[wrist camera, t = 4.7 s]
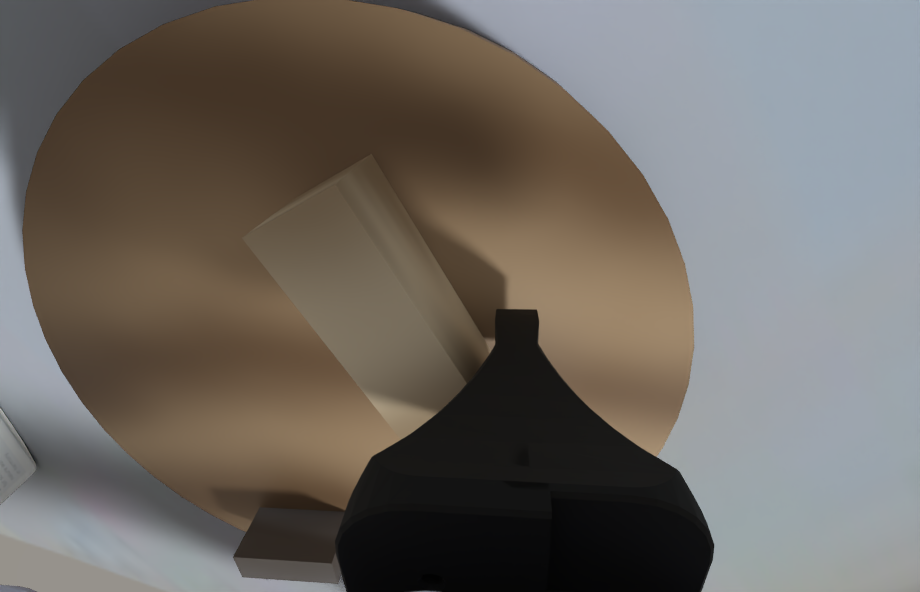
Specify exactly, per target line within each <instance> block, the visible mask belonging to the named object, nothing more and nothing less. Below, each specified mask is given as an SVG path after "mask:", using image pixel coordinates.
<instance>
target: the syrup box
mask: <svg viewBox="0 0 920 592" xmlns="http://www.w3.org/2000/svg"><path fill="white" fill-rule="evenodd" d="M36 468H37V466H36V464H35V462H34V460H33V458H32V456H31V455H30V453H29V451H28V449H27V447H26V446H25V444H24V442H23V441H22V439H21V438H20V436H19V435H18V433H17V432H16V430H15V428H14V427H13V425H12V424H11V422H10V421H9V420H8V418H7V417H6V415H5V414H4V412H3V411H2V410H1V408H0V505H1V504H2V503H3V502H4V501H5V500H6V499H7V498H8V497H9V496H10V495H11V494H12V493H13V492H15V491H16V490H17V489H18V488H19V487H20V486H21V485H22V484H23V483H24V482H25V481H26V480H27V479H28V478H29V477H30V476H31V475H32V474H33V473H34V472H35V471H36Z"/></svg>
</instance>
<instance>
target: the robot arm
mask: <svg viewBox="0 0 920 592" xmlns="http://www.w3.org/2000/svg"><path fill="white" fill-rule="evenodd" d="M538 339H539V317H538V312H537V309H496V316H495V346H494V347H493V349H492V351H491V352H490V354H489V355H488V357H487V358H486V360H485V361H484V362H483V364H482V365H481V367H480V368H479V370H478V371H477V372H476V373H475V375H474V376H473V377H472V378H471V380H470V381H469V382H468V383H467V384H466V385H465V386H464V388H463V389H462V390H461V391H460V392H459V393H458V394H457V395H456V396H455V397H454V398H453V399H452V400H451V401H450V402H449V403H448V404H447V405H446V406H445V407H444V408H443V409H441V410H440V411H439V412H438V413H437V414H436V415H434V416H433V417H432V418H431V419H429V420H428V421H427V422H425V423H424V424H423V425H421V426H420V427H419V428H418V429H416V430H415V431H414V432H412V433H411V434H409V435H408V436H406V437H405V438H403V439H401V440H400V441H398V442H396V443H394V444H393V445H391V446H389V447H388V448H386V449H384V450H383V451H381V452H379V453H377V454H375V455H373V456H372V457H371V459H370V461H369V462H368V464H367V466H366V467H365V469H364V471H363V473H362V475H361V476H360V478H359V480H358V482H357V484H356V486H355V488H354V490H353V492H352V494H351V497H350V499H349V501H348V504H347V507H346V510H345V513H344V516H343V519H342V521H341V524H340V527H339V530H338V533H337V536H336V539H335V549H336V556H337V560H338V563H339V567H340V570H341V574H342V577H343V581H344V584H345V588H346V591H347V592H701V591H702V588H703V585H704V583H705V580H706V577H707V574H708V571H709V569H710V566H711V563H712V560H713V553H714V543H713V540H712V537H711V534H710V531H709V528H708V525H707V522H706V520H705V518H704V515H703V513H702V511H701V509H700V507H699V505H698V503H697V502H696V500H695V498H694V496H693V494H692V493H691V491H690V489H689V487H688V486H687V484H686V482H685V480H684V479H683V477H682V475H681V474H680V472H679V471H678V470H677V469H675V468H674V467H672V466H670V465H669V464H667V463H665V462H664V461H662V460H660V459H659V458H657V457H656V456H654V455H652V454H651V453H649V452H647V451H646V450H644V449H642V448H641V447H639V446H638V445H636V444H635V443H633V442H632V441H631V440H629V439H628V438H626V437H625V436H624V435H622V434H621V433H619V432H618V431H617V430H615V429H614V428H613V427H612V426H610V425H609V424H608V423H607V422H606V421H604V420H603V419H602V418H601V417H600V416H599V415H597V414H596V413H595V412H594V411H593V410H592V409H590V408H589V407H588V406H587V405H586V404H585V403H584V402H583V401H582V400H581V399H580V398H579V397H578V395H577V394H576V393H575V392H574V391H573V390H572V389H571V388H570V387H569V386H568V384H567V383H566V382H565V381H564V380H563V378H562V377H561V376H560V375H559V373H558V372H557V371H556V369H555V368H554V367H553V365H552V364H551V363H550V361H549V360H548V358H547V357H546V355H545V354H544V352H543V351H542V349H541V347H540V346H539V344H538ZM0 592H36V591H34V590H32V589H29V588H25V587H20V586H9V585H0Z"/></svg>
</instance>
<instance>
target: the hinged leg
mask: <svg viewBox="0 0 920 592" xmlns="http://www.w3.org/2000/svg"><path fill="white" fill-rule="evenodd" d="M242 239H243V240H244V242H245V243H246V244H247V245H248V247H249V248H250V249H251V250H252V252H253V253H254V254H255V256H256V257H257V258H258V259H259V261H260V262H261V263H262V264H263V266H264V267H265V268H266V269H267V271H268V272H269V273H270V275H271V276H272V277H273V278H274V280H275V281H276V282H277V283H278V285H279V286H280V287H281V289H282V290H283V291H284V292H285V294H286V295H287V296H288V297H289V299H290V300H291V301H292V302H293V304H294V305H295V306H296V308H297V309H298V310H299V311H300V313H301V314H302V315H303V316H304V318H305V319H306V320H307V322H308V323H309V324H310V325H311V327H312V328H313V329H314V330H315V332H316V333H317V334H318V335H319V337H320V338H321V339H322V341H323V342H324V343H325V344H326V346H327V347H328V348H329V349H330V351H331V352H332V353H333V354H334V356H335V357H336V358H337V360H338V361H339V362H340V363H341V365H342V366H343V367H344V368H345V370H346V371H347V372H348V374H349V375H350V376H351V377H352V379H353V380H354V381H355V382H356V384H357V385H358V386H359V387H360V389H361V390H362V391H363V393H364V394H365V395H366V396H367V398H368V399H369V400H370V401H371V403H372V404H373V405H374V407H375V408H376V409H377V410H378V412H379V413H380V414H381V415H382V417H383V418H384V419H385V420H386V422H387V423H388V424H389V426H390V427H391V428H392V429H393V431H394V432H395V433H396V434H397V436H398V437H399V438H400V439H403V438H405V437H406V436H408V435H409V434H411V433H412V432H414V431H415V430H416V429H418V428H419V427H420V426H421V425H423V424H424V423H425V422H427V421H428V420H429V419H431V418H432V417H433V416H434V415H436V414H437V413H438V412H439V411H440V410H441V409H443V408H444V407H445V406H446V405H447V404H448V403H449V402H450V401H451V400H452V399H453V398H454V397H455V396H456V395H457V394H458V393H459V392H460V391H461V390H462V389H463V388H464V386H465V385H466V384H467V383H468V382H469V381H470V380H471V378H472V377H473V376H474V375H475V373H476V372H477V371H478V370H479V368H480V367H481V365H482V364H483V362H484V361H485V360H486V358H487V357H488V355H489V354H490V352H491V349H490V348H489V346H488V344H487V343H486V341H485V339H484V338H483V336H482V334H481V333H480V331H479V330H478V328H477V326H476V325H475V323H474V321H473V320H472V318H471V316H470V315H469V313H468V311H467V310H466V308H465V307H464V305H463V303H462V302H461V300H460V298H459V297H458V295H457V293H456V292H455V290H454V288H453V287H452V285H451V284H450V282H449V280H448V279H447V277H446V275H445V274H444V272H443V270H442V269H441V267H440V266H439V264H438V262H437V261H436V259H435V257H434V256H433V254H432V252H431V251H430V249H429V247H428V246H427V244H426V243H425V241H424V239H423V238H422V236H421V234H420V233H419V231H418V229H417V228H416V226H415V224H414V223H413V221H412V220H411V218H410V216H409V215H408V213H407V211H406V210H405V208H404V206H403V205H402V203H401V201H400V200H399V198H398V197H397V195H396V193H395V192H394V190H393V188H392V187H391V185H390V183H389V182H388V180H387V178H386V177H385V175H384V174H383V172H382V170H381V169H380V167H379V165H378V164H377V162H376V160H375V159H374V157H373V155H372V154H370V155H369V156H367V157H365V158H364V159H362V160H360V161H358V162H357V163H355V164H353V165H351V166H350V167H348V168H346V169H345V170H343V171H341V172H339V173H338V174H336V175H334V176H333V177H331V178H329V179H327V180H326V181H324V182H322V183H320V184H319V185H317V186H315V187H314V188H312V189H310V190H308V191H307V192H305V193H303V194H301V195H300V196H298V197H296V198H295V199H293V200H292V201H290V202H289V203H288V204H286V205H285V206H284V207H282V208H281V209H280V210H278V211H277V212H276V213H274V214H273V215H272V216H270V217H269V218H268V219H266V220H265V221H264V222H262V223H261V224H260V225H258V226H257V227H256V228H254V229H253V230H252V231H250V232H249V233H248V234H246V235H245V236H244V237H242Z"/></svg>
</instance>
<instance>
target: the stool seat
mask: <svg viewBox="0 0 920 592" xmlns="http://www.w3.org/2000/svg"><path fill="white" fill-rule="evenodd" d="M370 154H372V155H373V157H374V159H375V160H376V162H377V164H378V165H379V167H380V169H381V170H382V172H383V174H384V175H385V177H386V178H387V180H388V182H389V183H390V185H391V187H392V188H393V190H394V192H395V193H396V195H397V197H398V198H399V200H400V201H401V203H402V205H403V206H404V208H405V210H406V211H407V213H408V215H409V216H410V218H411V220H412V221H413V223H414V224H415V226H416V228H417V229H418V231H419V233H420V234H421V236H422V238H423V239H424V241H425V243H426V244H427V246H428V247H429V249H430V251H431V252H432V254H433V256H434V257H435V259H436V261H437V262H438V264H439V266H440V267H441V269H442V270H443V272H444V274H445V275H446V277H447V279H448V280H449V282H450V284H451V285H452V287H453V288H454V290H455V292H456V293H457V295H458V297H459V298H460V300H461V302H462V303H463V305H464V307H465V308H466V310H467V311H468V313H469V315H470V316H471V318H472V320H473V321H474V323H475V325H476V326H477V328H478V330H479V331H480V333H481V334H482V336H483V338H484V339H485V341H486V343H487V344H488V346H489V348H490V349H491V351H492V349H493V347H494V346H495V316H496V309H537V312H538V317H539V339H538V344H539V346H540V347H541V349H542V351H543V352H544V354H545V355H546V357H547V358H548V360H549V361H550V363H551V364H552V365H553V367H554V368H555V369H556V371H557V372H558V373H559V375H560V376H561V377H562V378H563V380H564V381H565V382H566V383H567V384H568V386H569V387H570V388H571V389H572V390H573V391H574V392H575V393H576V394H577V395H578V397H579V398H580V399H581V400H582V401H583V402H584V403H585V404H586V405H587V406H588V407H589V408H590V409H592V410H593V411H594V412H595V413H596V414H597V415H599V416H600V417H601V418H602V419H603V420H604V421H606V422H607V423H608V424H609V425H610V426H612V427H613V428H614V429H615V430H617V431H618V432H619V433H621V434H622V435H624V436H625V437H626V438H628V439H629V440H631V441H632V442H633V443H635V444H636V445H638V446H639V447H641V448H642V449H644V450H646V451H647V452H649V453H651V454H652V455H654V456H657V455H658V454H659V452H660V451H661V449H662V448H663V446H664V444H665V442H666V440H667V438H668V436H669V434H670V432H671V430H672V428H673V426H674V424H675V422H676V421H677V419H678V416H679V413H680V409H681V406H682V403H683V400H684V397H685V394H686V391H687V388H688V385H689V378H690V371H691V364H692V357H693V351H694V326H693V304H692V299H691V294H690V288H689V283H688V278H687V273H686V268H685V263H684V261H683V258H682V255H681V252H680V250H679V247H678V244H677V242H676V239H675V236H674V234H673V231H672V228H671V226H670V223H669V220H668V218H667V216H666V215H665V213H664V211H663V209H662V208H661V206H660V204H659V202H658V201H657V199H656V197H655V195H654V194H653V192H652V190H651V188H650V186H649V185H648V183H647V181H646V179H645V178H644V176H643V174H642V173H641V172H640V171H639V169H638V168H637V167H636V165H635V164H634V163H633V162H632V160H631V159H630V158H629V157H628V155H627V154H626V153H625V152H624V150H623V149H622V148H621V147H620V145H619V144H618V143H617V142H616V140H615V139H614V138H613V136H612V135H611V134H610V133H609V131H608V130H607V129H605V128H604V127H603V126H602V125H601V124H600V123H599V122H598V121H597V120H596V119H595V118H594V117H593V116H592V115H591V114H590V113H589V112H588V111H587V110H586V109H585V108H584V107H583V106H582V105H580V104H579V103H578V102H577V101H576V100H575V99H574V98H573V97H572V96H571V95H570V94H569V93H568V92H567V91H565V90H564V89H563V88H562V87H561V86H560V85H559V84H558V83H557V82H556V81H554V80H553V79H551V78H550V77H548V76H547V75H546V74H544V73H543V72H541V71H540V70H538V69H537V68H536V67H534V66H533V65H531V64H530V63H528V62H527V61H525V60H524V59H523V58H521V57H520V56H518V55H517V54H515V53H514V52H512V51H510V50H508V49H506V48H504V47H502V46H500V45H498V44H496V43H494V42H492V41H490V40H488V39H486V38H483V37H481V36H479V35H477V34H475V33H473V32H471V31H469V30H467V29H464V28H461V27H458V26H455V25H452V24H449V23H446V22H443V21H440V20H437V19H434V18H430V17H427V16H424V15H421V14H418V13H414V12H410V11H406V10H402V9H398V8H392V7H386V6H380V5H374V4H368V3H362V2H356V1H350V0H253V1H246V2H240V3H234V4H227V5H221V6H215V7H212V8H209V9H206V10H203V11H200V12H198V13H195V14H192V15H189V16H186V17H183V18H180V19H177V20H174V21H171V22H168V23H165V24H163V25H161V26H159V27H158V28H156V29H154V30H152V31H151V32H149V33H147V34H145V35H144V36H142V37H140V38H138V39H136V40H135V41H133V42H131V43H129V44H128V45H126V46H124V47H122V48H121V49H119V50H118V51H117V52H116V53H114V54H113V55H112V56H111V57H110V58H109V59H107V60H106V61H105V62H104V63H103V64H102V65H100V66H99V67H98V68H97V69H96V70H95V71H93V72H92V73H91V74H90V75H89V76H88V77H86V78H85V79H84V80H83V81H82V82H81V84H80V85H79V86H78V88H77V89H76V90H75V91H74V93H73V94H72V95H71V97H70V98H69V99H68V100H67V102H66V103H65V104H64V106H63V107H62V108H61V109H60V111H59V112H58V113H57V114H56V116H55V118H54V120H53V122H52V124H51V126H50V128H49V130H48V132H47V134H46V136H45V138H44V140H43V142H42V144H41V146H40V148H39V150H38V152H37V155H36V158H35V162H34V166H33V169H32V173H31V176H30V180H29V183H28V187H27V190H26V199H25V209H24V219H23V229H22V231H23V246H24V261H25V271H26V275H27V280H28V284H29V289H30V294H31V298H32V303H33V306H34V309H35V312H36V315H37V317H38V320H39V323H40V326H41V328H42V331H43V334H44V337H45V339H46V341H47V343H48V345H49V347H50V349H51V351H52V353H53V355H54V357H55V359H56V361H57V363H58V365H59V367H60V369H61V371H62V373H63V374H64V376H65V377H66V379H67V380H68V382H69V383H70V385H71V386H72V388H73V389H74V391H75V393H76V394H77V396H78V397H79V399H80V400H81V402H82V403H83V404H84V405H85V407H86V408H87V409H88V410H89V412H90V413H91V414H92V415H93V417H94V418H95V419H96V420H97V422H98V423H99V424H100V425H101V426H102V428H103V429H104V430H105V431H106V432H107V433H108V434H109V435H110V436H111V437H112V438H113V439H114V440H115V441H116V442H117V443H118V444H119V445H120V446H121V448H122V449H123V450H124V451H125V452H126V453H127V454H128V455H130V456H131V457H132V458H133V459H134V460H135V461H136V462H138V463H139V464H140V465H141V466H142V467H143V468H145V469H146V470H147V471H148V472H149V473H150V474H152V475H153V476H154V477H155V478H157V479H158V480H159V481H161V482H162V483H163V484H165V485H166V486H168V487H169V488H170V489H172V490H173V491H174V492H176V493H177V494H179V495H180V496H181V497H183V498H185V499H186V500H188V501H189V502H191V503H193V504H194V505H196V506H198V507H199V508H201V509H202V510H204V511H206V512H207V513H209V514H211V515H213V516H215V517H217V518H219V519H221V520H222V521H224V522H226V523H228V524H230V525H232V526H234V527H236V528H238V529H240V530H243V531H245V532H246V534H245V536H244V538H243V540H242V541H241V543H240V545H239V547H238V549H237V551H236V553H235V555H234V556H233V558H234V560H235V562H236V564H237V567H238V569H239V571H240V573H241V575H242V577H247V578H262V579H276V580H290V581H305V582H319V583H333V584H338V582H339V579H340V576H341V570H340V567H339V563H338V560H337V556H336V549H335V539H336V536H337V533H338V530H339V527H340V524H341V521H342V519H343V516H344V513H345V510H346V507H347V504H348V501H349V499H350V497H351V494H352V492H353V490H354V488H355V486H356V484H357V482H358V480H359V478H360V476H361V475H362V473H363V471H364V469H365V467H366V466H367V464H368V462H369V461H370V459H371V457H372V456H373V455H375V454H377V453H379V452H381V451H383V450H384V449H386V448H388V447H389V446H391V445H393V444H394V443H396V442H398V441H400V440H401V439H400V438H399V437H398V436H397V434H396V433H395V432H394V431H393V429H392V428H391V427H390V426H389V424H388V423H387V422H386V420H385V419H384V418H383V417H382V415H381V414H380V413H379V412H378V410H377V409H376V408H375V407H374V405H373V404H372V403H371V401H370V400H369V399H368V398H367V396H366V395H365V394H364V393H363V391H362V390H361V389H360V387H359V386H358V385H357V384H356V382H355V381H354V380H353V379H352V377H351V376H350V375H349V374H348V372H347V371H346V370H345V368H344V367H343V366H342V365H341V363H340V362H339V361H338V360H337V358H336V357H335V356H334V354H333V353H332V352H331V351H330V349H329V348H328V347H327V346H326V344H325V343H324V342H323V341H322V339H321V338H320V337H319V335H318V334H317V333H316V332H315V330H314V329H313V328H312V327H311V325H310V324H309V323H308V322H307V320H306V319H305V318H304V316H303V315H302V314H301V313H300V311H299V310H298V309H297V308H296V306H295V305H294V304H293V302H292V301H291V300H290V299H289V297H288V296H287V295H286V294H285V292H284V291H283V290H282V289H281V287H280V286H279V285H278V283H277V282H276V281H275V280H274V278H273V277H272V276H271V275H270V273H269V272H268V271H267V269H266V268H265V267H264V266H263V264H262V263H261V262H260V261H259V259H258V258H257V257H256V256H255V254H254V253H253V252H252V250H251V249H250V248H249V247H248V245H247V244H246V243H245V242H244V240H243V239H242V237H244V236H245V235H246V234H248V233H249V232H250V231H252V230H253V229H254V228H256V227H257V226H258V225H260V224H261V223H262V222H264V221H265V220H266V219H268V218H269V217H270V216H272V215H273V214H274V213H276V212H277V211H278V210H280V209H281V208H282V207H284V206H285V205H286V204H288V203H289V202H290V201H292V200H293V199H295V198H296V197H298V196H300V195H301V194H303V193H305V192H307V191H308V190H310V189H312V188H314V187H315V186H317V185H319V184H320V183H322V182H324V181H326V180H327V179H329V178H331V177H333V176H334V175H336V174H338V173H339V172H341V171H343V170H345V169H346V168H348V167H350V166H351V165H353V164H355V163H357V162H358V161H360V160H362V159H364V158H365V157H367V156H369V155H370Z"/></svg>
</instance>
